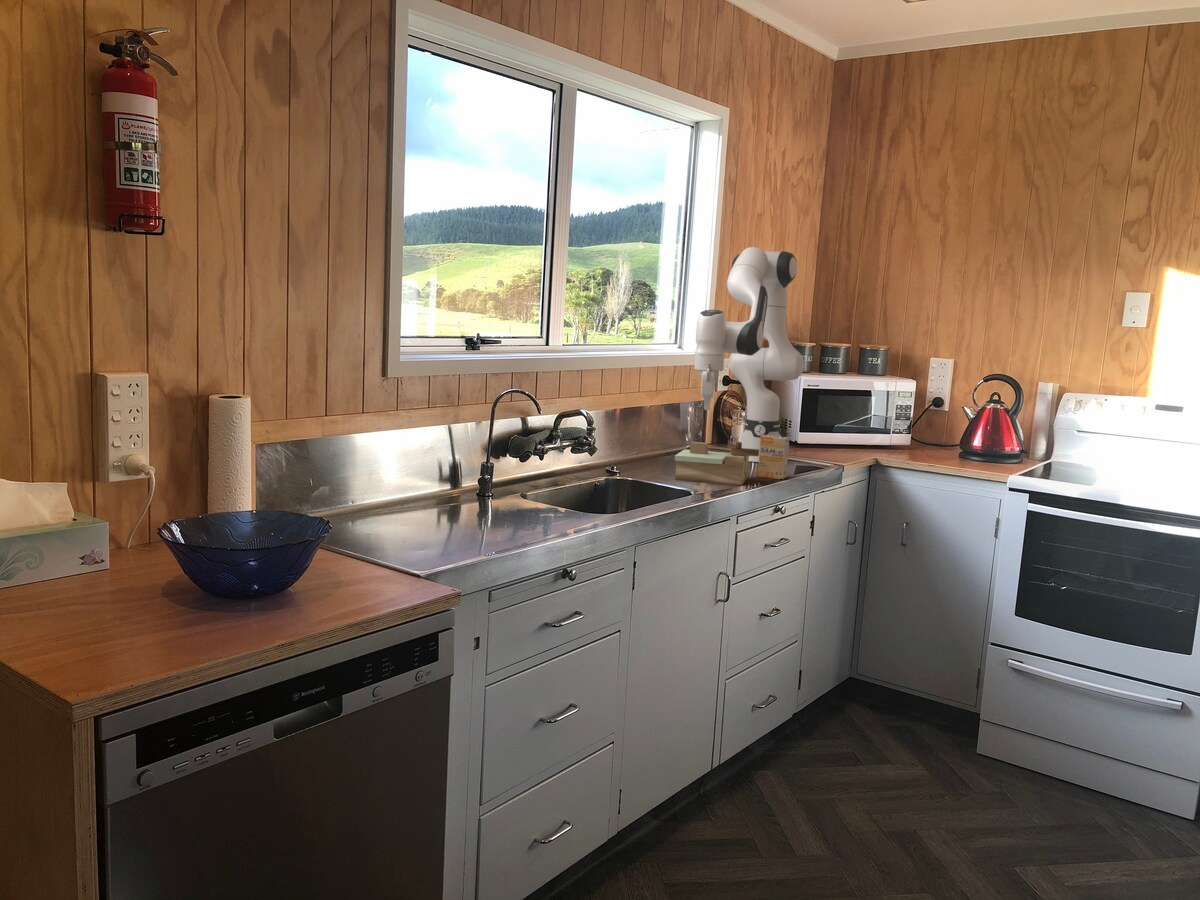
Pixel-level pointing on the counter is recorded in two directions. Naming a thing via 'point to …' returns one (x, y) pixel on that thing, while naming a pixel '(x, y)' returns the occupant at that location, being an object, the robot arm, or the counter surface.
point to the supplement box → (773, 457)
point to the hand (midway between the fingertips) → (706, 409)
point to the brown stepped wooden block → (744, 450)
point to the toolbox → (715, 471)
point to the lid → (700, 454)
